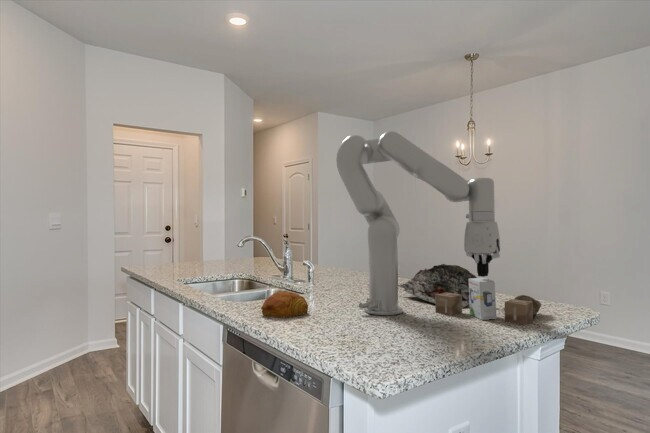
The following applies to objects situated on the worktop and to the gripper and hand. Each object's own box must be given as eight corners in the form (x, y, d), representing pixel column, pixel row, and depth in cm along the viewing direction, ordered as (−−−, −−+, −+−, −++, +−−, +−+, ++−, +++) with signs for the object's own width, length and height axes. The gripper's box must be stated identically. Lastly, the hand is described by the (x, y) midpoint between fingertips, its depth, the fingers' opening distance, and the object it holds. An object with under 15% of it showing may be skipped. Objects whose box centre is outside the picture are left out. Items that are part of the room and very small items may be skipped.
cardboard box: (451, 316, 132) (451, 296, 132) (435, 312, 137) (435, 294, 137) (462, 313, 136) (462, 294, 136) (446, 310, 141) (446, 292, 141)
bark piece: (492, 290, 149) (430, 268, 174) (484, 273, 146) (423, 254, 171) (460, 327, 143) (401, 299, 168) (452, 311, 140) (393, 284, 165)
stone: (511, 303, 141) (526, 286, 137) (530, 321, 137) (547, 304, 133) (498, 311, 131) (514, 292, 128) (519, 329, 127) (536, 311, 124)
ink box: (496, 320, 126) (496, 281, 126) (480, 320, 126) (480, 281, 126) (483, 313, 135) (483, 277, 135) (468, 313, 135) (467, 277, 135)
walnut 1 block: (525, 325, 120) (525, 304, 120) (504, 322, 124) (504, 301, 124) (532, 321, 125) (532, 301, 125) (512, 318, 129) (511, 298, 129)
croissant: (281, 313, 147) (279, 290, 148) (316, 312, 138) (313, 288, 139) (251, 320, 135) (249, 295, 136) (287, 320, 126) (284, 293, 127)
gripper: (454, 218, 134) (455, 275, 134) (498, 217, 122) (499, 279, 122) (467, 217, 139) (468, 272, 139) (511, 217, 127) (512, 277, 127)
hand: (482, 275), depth 130 cm, fingers closed
